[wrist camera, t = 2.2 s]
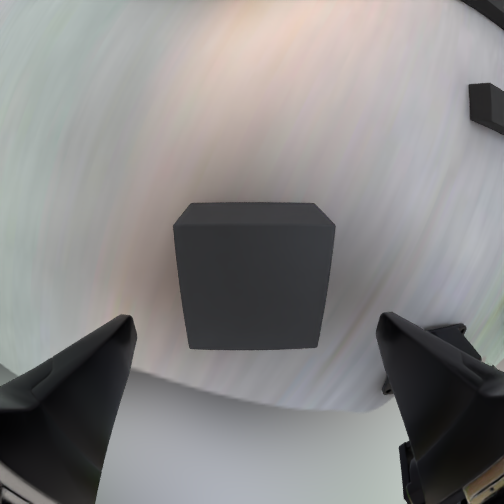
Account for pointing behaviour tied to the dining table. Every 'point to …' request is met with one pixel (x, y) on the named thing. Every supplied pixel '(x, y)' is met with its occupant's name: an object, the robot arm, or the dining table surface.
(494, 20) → the u-shaped holder
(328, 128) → the dining table surface
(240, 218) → the pad
